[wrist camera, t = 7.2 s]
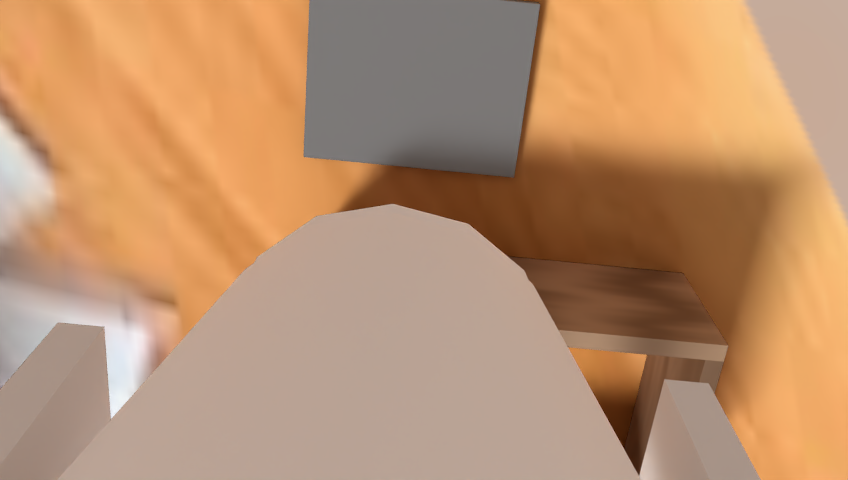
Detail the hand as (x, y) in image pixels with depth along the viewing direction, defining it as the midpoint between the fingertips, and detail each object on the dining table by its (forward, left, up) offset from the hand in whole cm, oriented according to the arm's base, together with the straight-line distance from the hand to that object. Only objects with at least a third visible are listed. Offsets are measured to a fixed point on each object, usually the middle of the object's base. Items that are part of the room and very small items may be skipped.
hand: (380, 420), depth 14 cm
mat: (0, 0, -26) cm, 26 cm away
